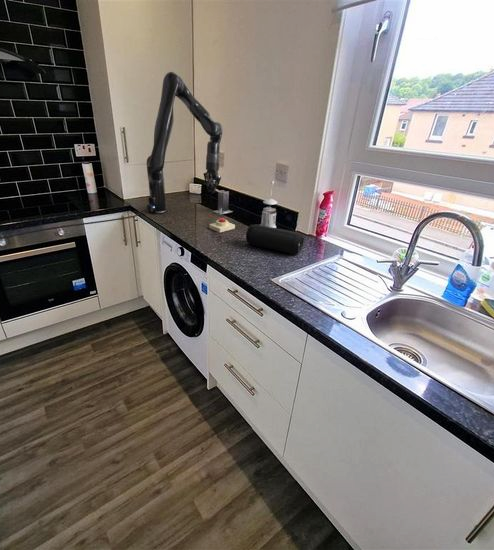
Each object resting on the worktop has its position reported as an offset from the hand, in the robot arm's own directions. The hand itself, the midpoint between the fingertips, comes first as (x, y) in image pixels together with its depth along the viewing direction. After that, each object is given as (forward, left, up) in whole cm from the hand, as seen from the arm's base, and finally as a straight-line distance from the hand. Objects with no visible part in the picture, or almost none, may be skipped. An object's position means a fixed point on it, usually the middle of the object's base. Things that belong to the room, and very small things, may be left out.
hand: (211, 191), depth 181 cm
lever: (+4, 0, -1) cm, 4 cm away
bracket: (+10, 0, -15) cm, 17 cm away
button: (-9, -21, -11) cm, 25 cm away
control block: (-9, -21, -15) cm, 27 cm away
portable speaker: (-9, -57, -15) cm, 60 cm away
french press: (+14, -34, -15) cm, 40 cm away
